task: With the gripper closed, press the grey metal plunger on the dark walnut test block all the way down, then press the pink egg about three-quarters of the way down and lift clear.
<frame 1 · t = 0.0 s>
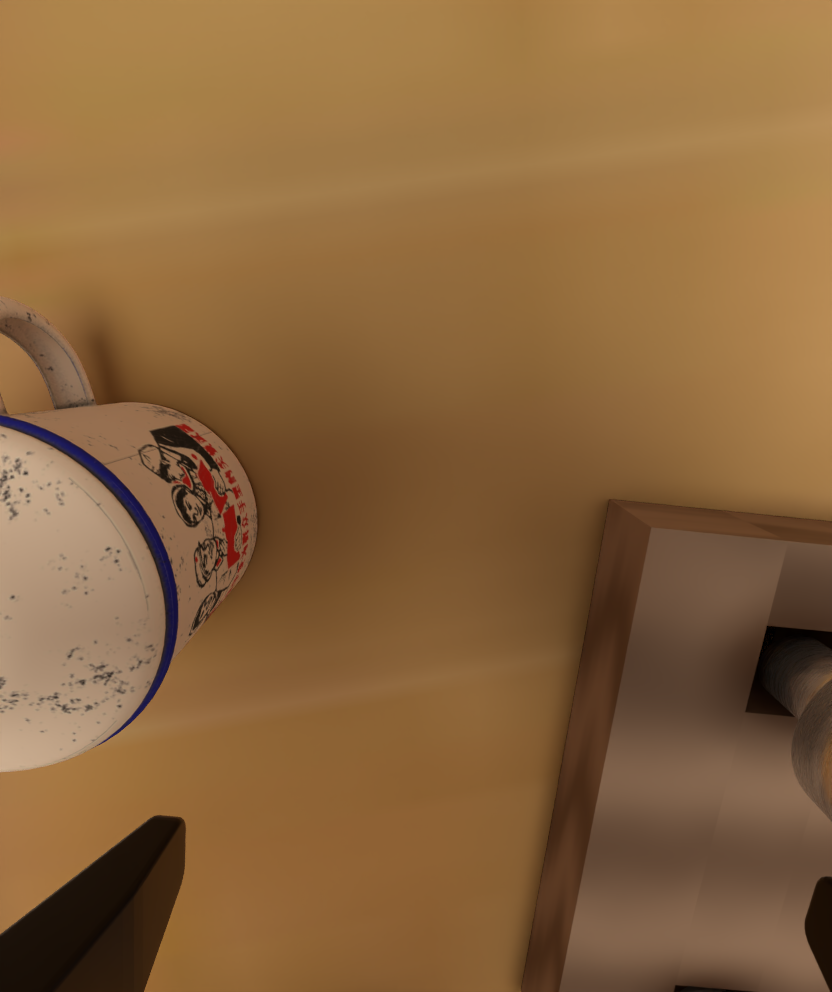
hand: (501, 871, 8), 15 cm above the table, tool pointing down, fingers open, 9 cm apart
press block: (698, 782, 25), on the table
teacup with lid: (142, 476, 22), on the table
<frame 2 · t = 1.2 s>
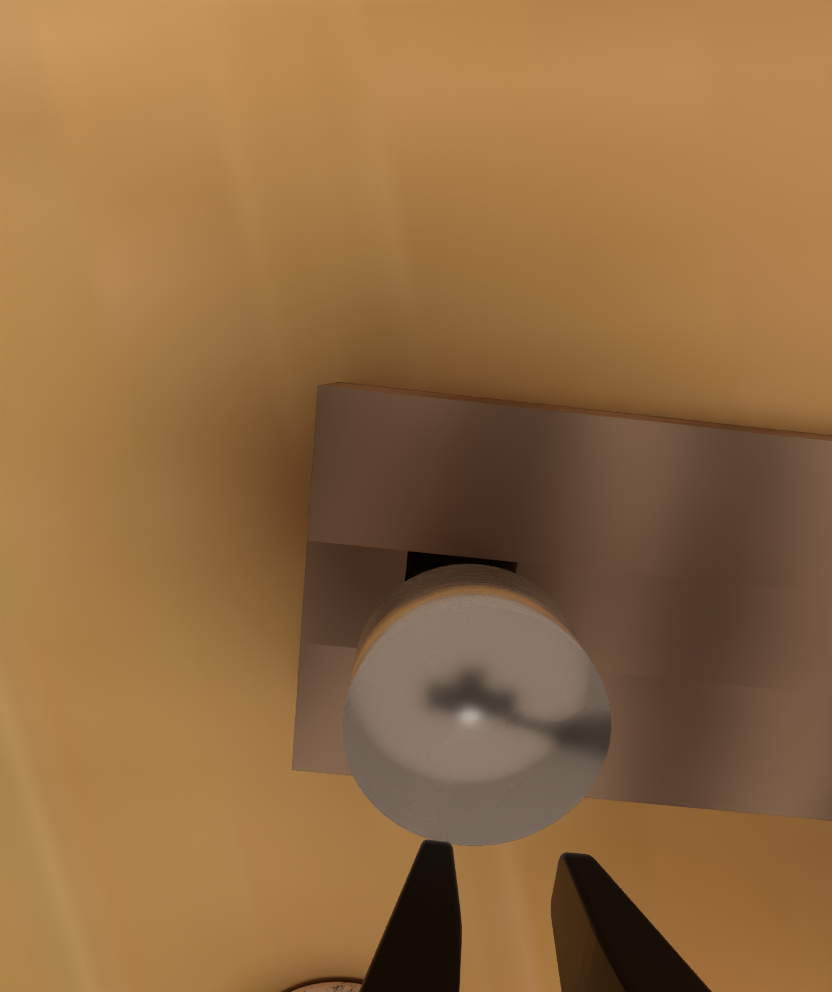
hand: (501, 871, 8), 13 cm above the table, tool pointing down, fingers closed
press block: (652, 583, 21), on the table
grey plunger: (463, 652, 14), point 7 cm above the table, slide at 0.0 cm
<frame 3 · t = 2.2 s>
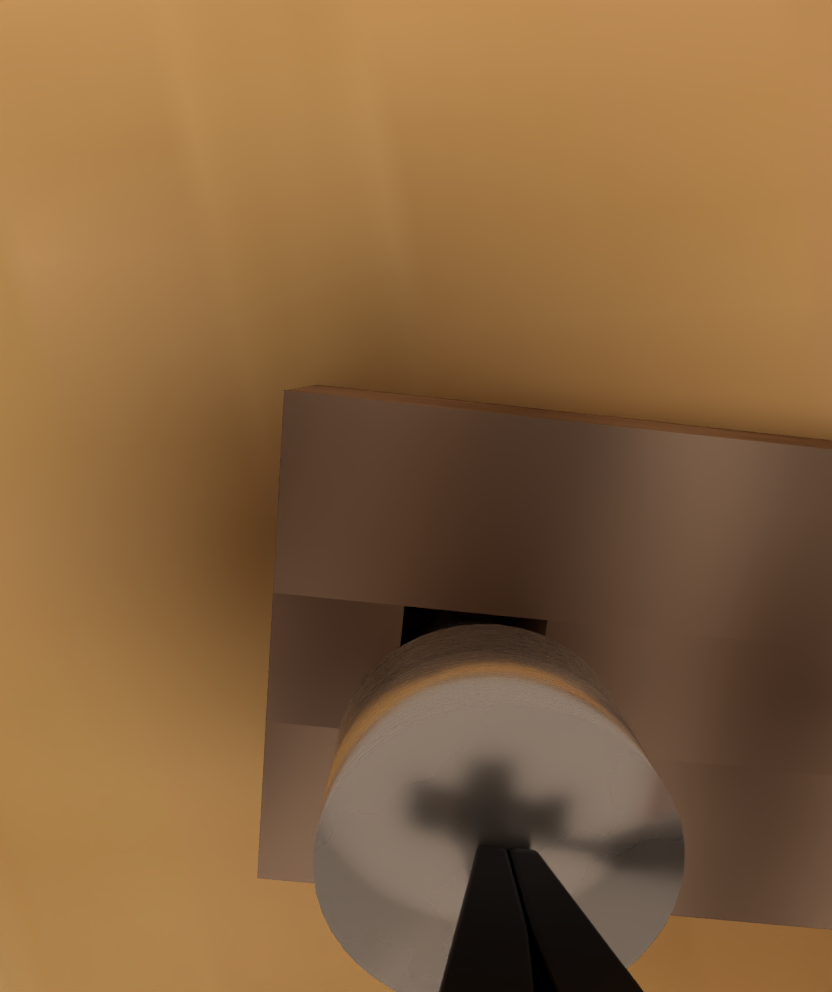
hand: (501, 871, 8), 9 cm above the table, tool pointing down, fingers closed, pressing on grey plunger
press block: (704, 631, 17), on the table
grey plunger: (475, 729, 11), point 6 cm above the table, slide at 0.8 cm, touching gripper
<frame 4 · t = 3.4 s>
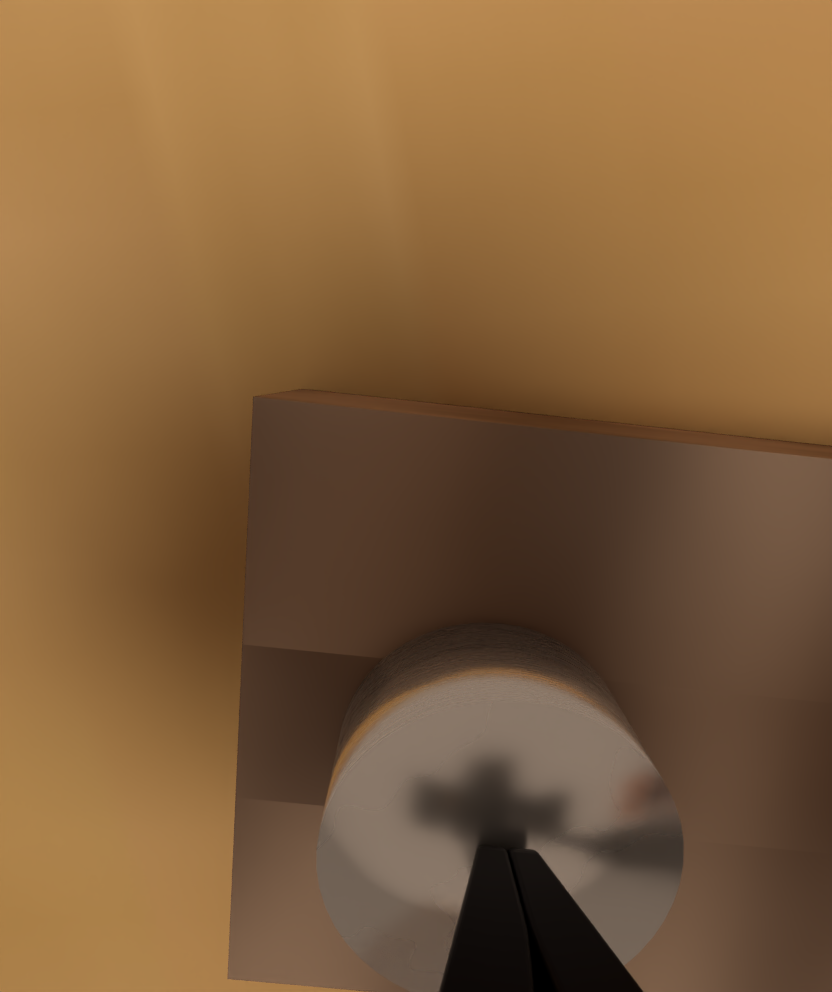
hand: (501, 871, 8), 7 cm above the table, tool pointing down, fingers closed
press block: (752, 674, 15), on the table
grey plunger: (476, 727, 11), point 3 cm above the table, slide at 3.3 cm
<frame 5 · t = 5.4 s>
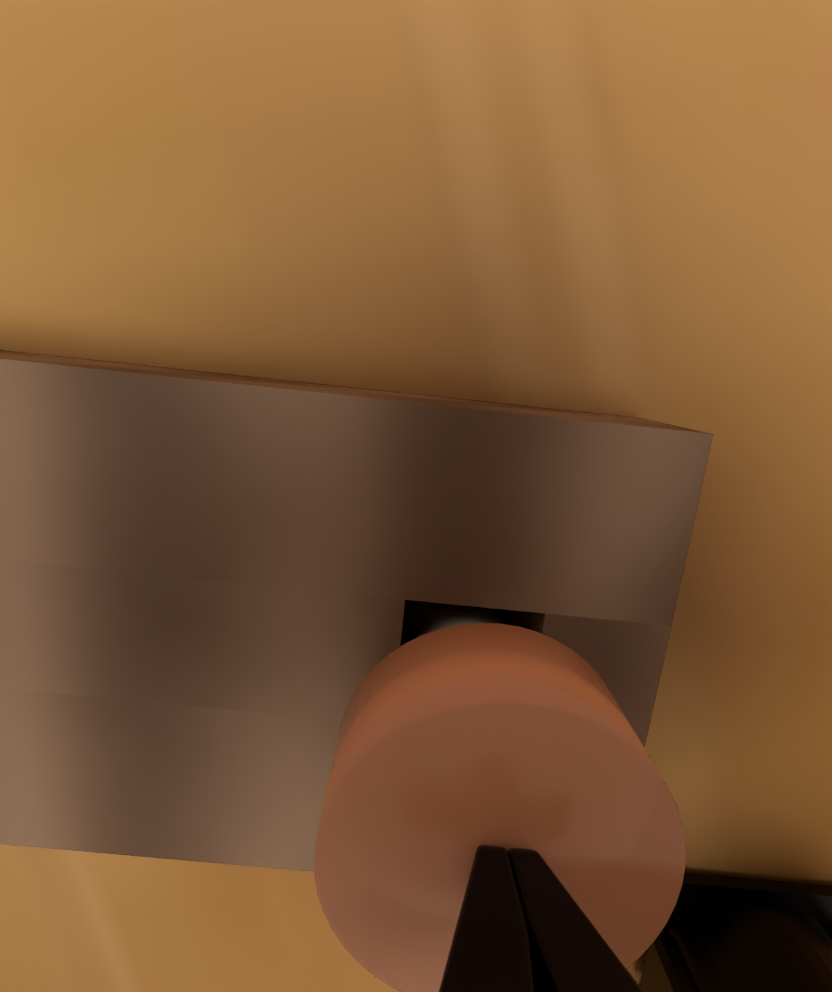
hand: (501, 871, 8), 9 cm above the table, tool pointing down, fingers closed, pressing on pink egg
press block: (205, 577, 17), on the table
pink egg: (476, 728, 11), point 6 cm above the table, slide at 0.5 cm, touching gripper
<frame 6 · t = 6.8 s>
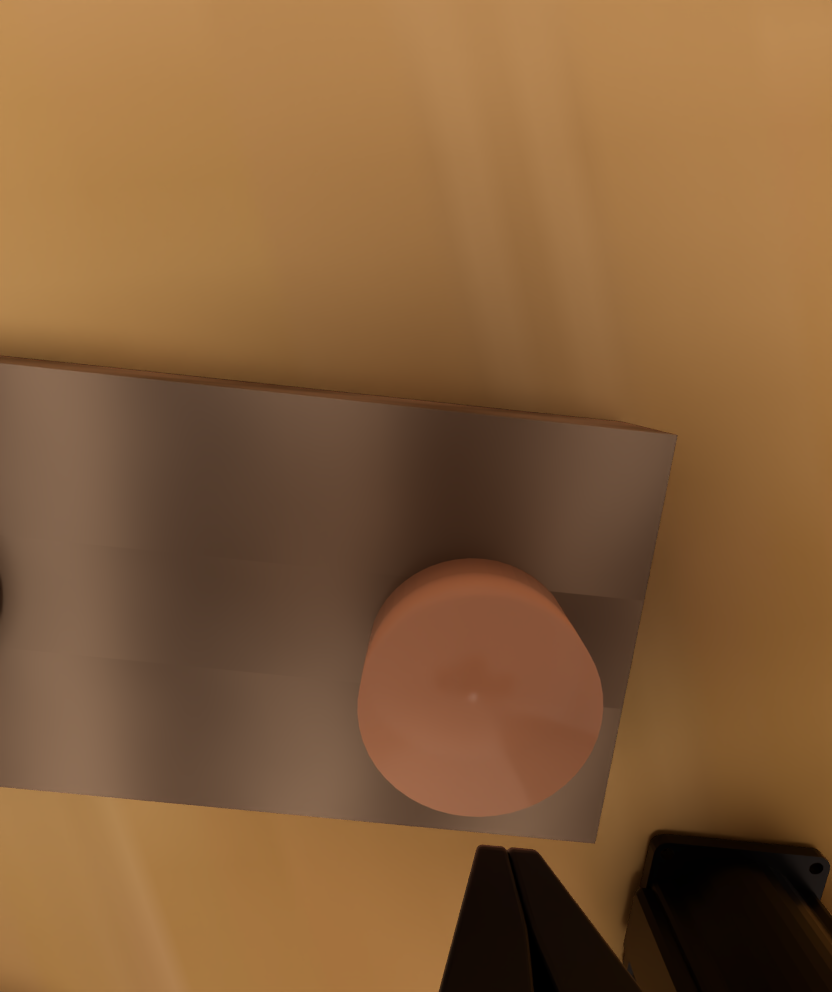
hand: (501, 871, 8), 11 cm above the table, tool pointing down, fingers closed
press block: (235, 562, 19), on the table
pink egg: (467, 641, 15), point 4 cm above the table, slide at 2.6 cm
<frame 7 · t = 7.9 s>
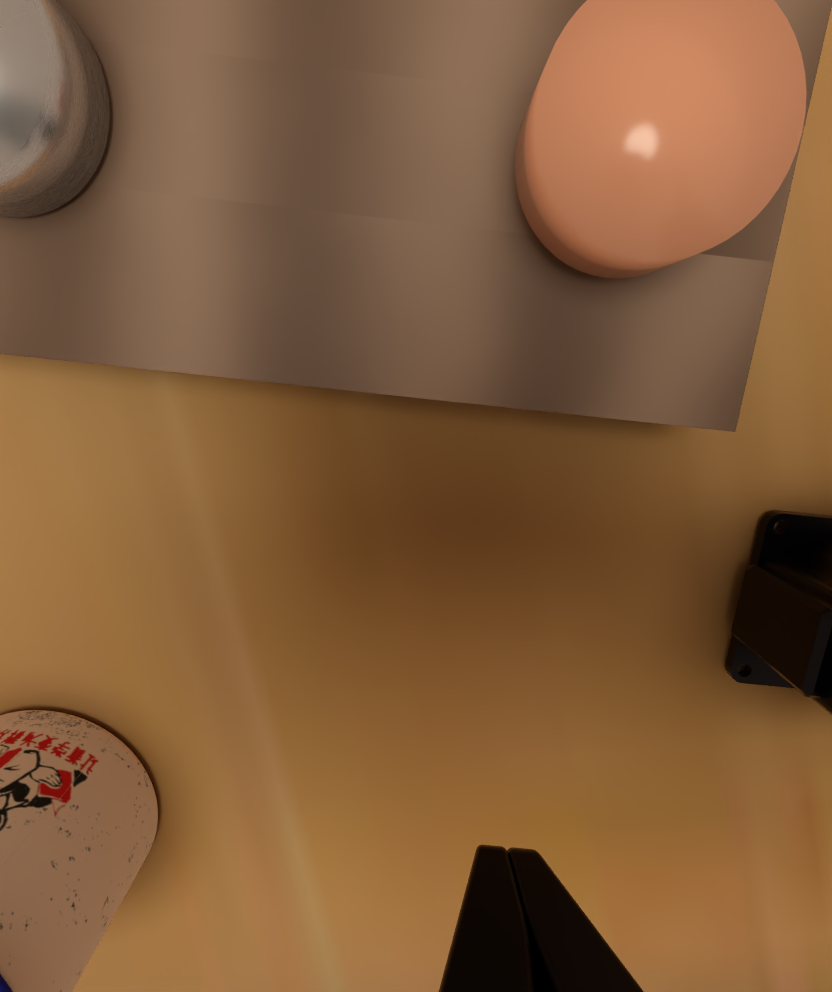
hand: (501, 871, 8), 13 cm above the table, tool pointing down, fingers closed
press block: (335, 189, 18), on the table
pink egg: (614, 172, 14), point 4 cm above the table, slide at 2.6 cm
grey plunger: (23, 115, 15), point 3 cm above the table, slide at 3.3 cm
teacup with lid: (23, 801, 23), on the table
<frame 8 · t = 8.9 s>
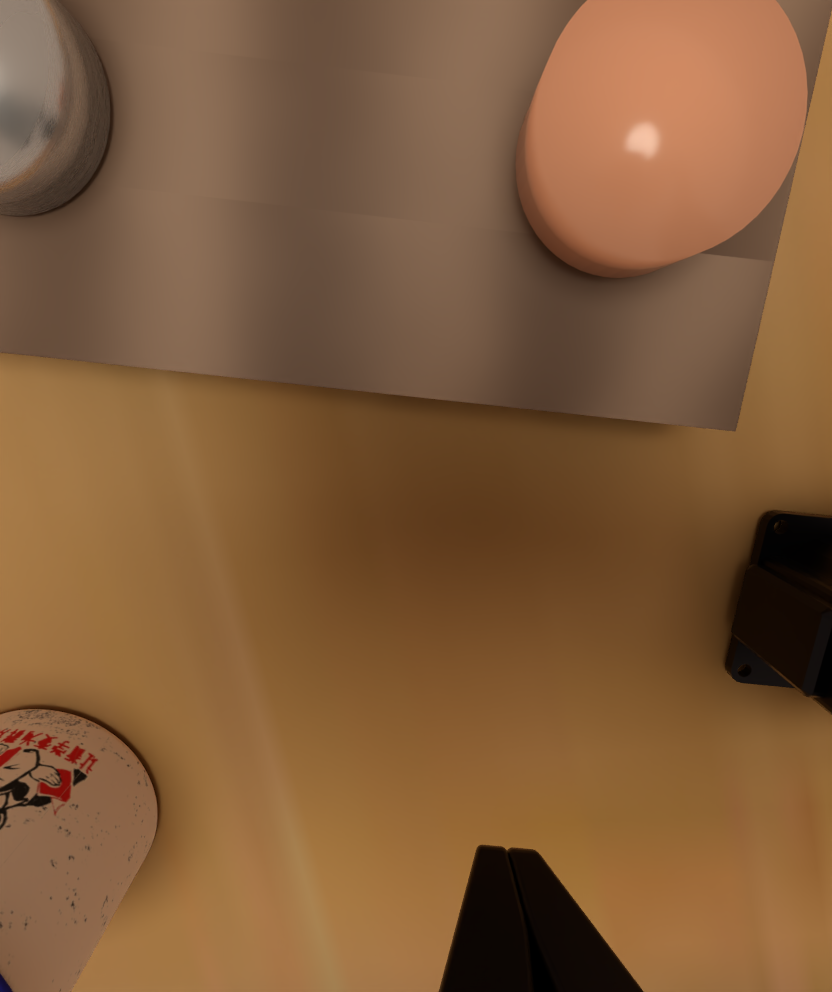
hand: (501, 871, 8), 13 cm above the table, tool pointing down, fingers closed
press block: (336, 188, 18), on the table
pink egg: (614, 172, 14), point 4 cm above the table, slide at 2.6 cm
grey plunger: (24, 113, 14), point 3 cm above the table, slide at 3.3 cm
teacup with lid: (23, 800, 23), on the table
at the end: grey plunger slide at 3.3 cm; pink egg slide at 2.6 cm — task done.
